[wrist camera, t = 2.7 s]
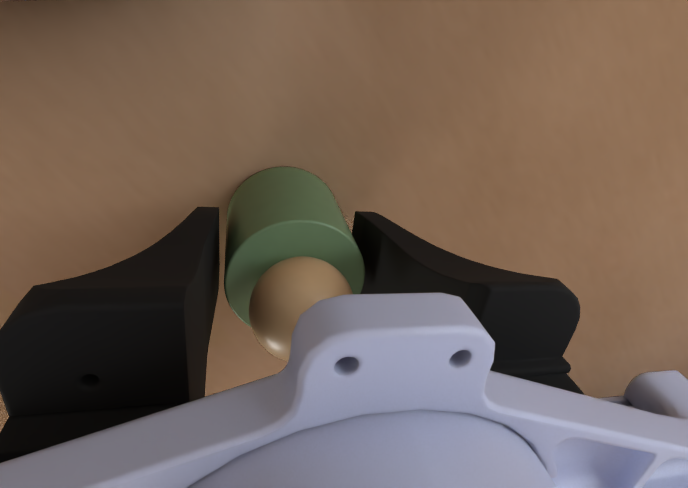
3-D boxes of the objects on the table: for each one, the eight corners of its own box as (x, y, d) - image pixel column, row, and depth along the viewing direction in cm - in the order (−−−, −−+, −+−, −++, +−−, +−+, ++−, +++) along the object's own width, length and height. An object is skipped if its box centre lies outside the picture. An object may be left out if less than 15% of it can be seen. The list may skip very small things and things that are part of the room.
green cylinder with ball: (227, 264, 15) (221, 411, 10) (227, 162, 14) (220, 274, 8) (330, 264, 16) (377, 398, 11) (343, 169, 14) (407, 272, 9)
